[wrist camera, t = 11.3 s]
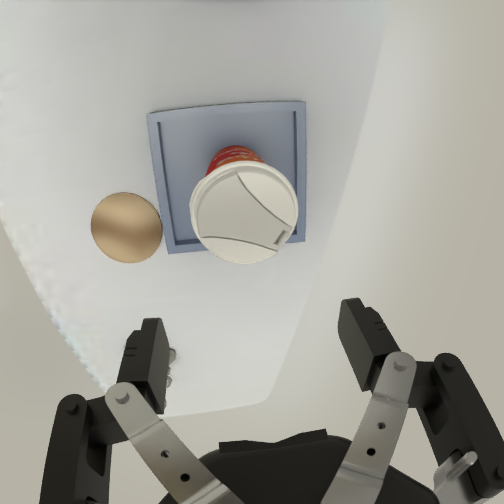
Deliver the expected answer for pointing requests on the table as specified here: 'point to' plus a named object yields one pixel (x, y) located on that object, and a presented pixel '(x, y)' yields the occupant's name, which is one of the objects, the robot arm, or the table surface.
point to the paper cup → (243, 207)
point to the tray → (210, 143)
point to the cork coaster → (126, 228)
